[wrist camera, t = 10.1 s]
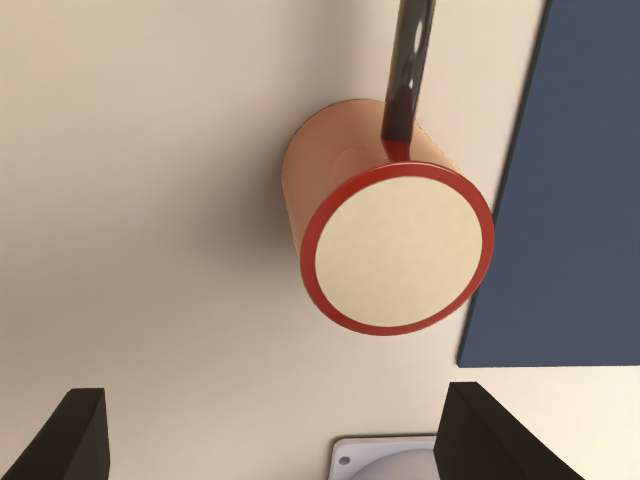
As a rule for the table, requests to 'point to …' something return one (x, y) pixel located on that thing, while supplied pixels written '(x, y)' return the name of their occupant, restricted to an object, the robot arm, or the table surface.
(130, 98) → the table surface
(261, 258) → the table surface
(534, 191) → the cloth
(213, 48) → the table surface
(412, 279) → the pot
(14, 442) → the table surface
